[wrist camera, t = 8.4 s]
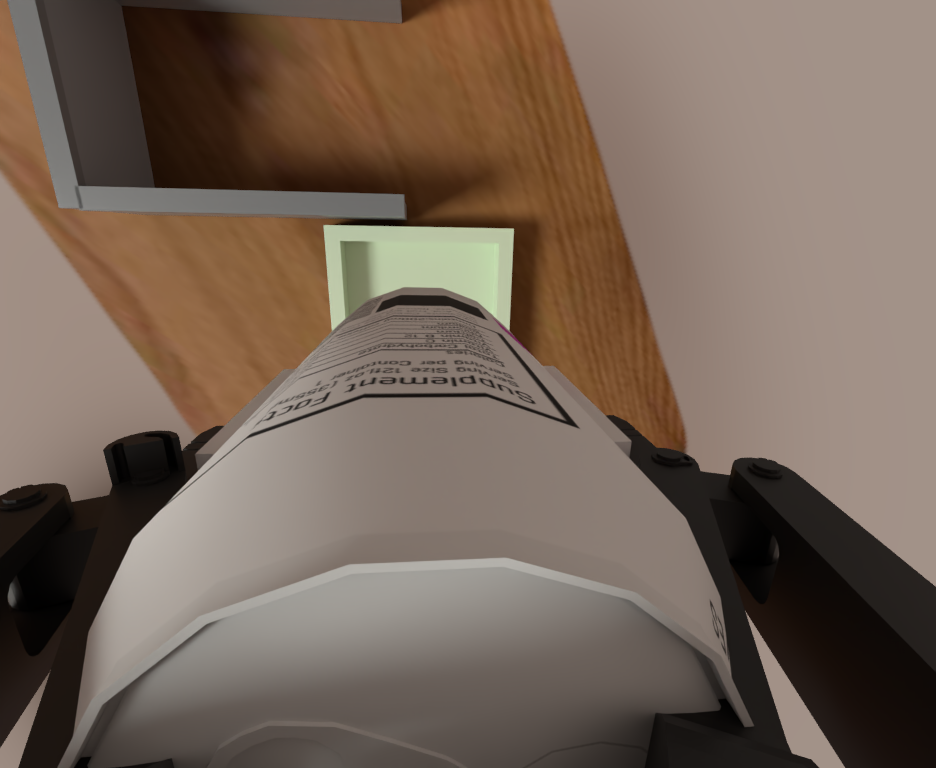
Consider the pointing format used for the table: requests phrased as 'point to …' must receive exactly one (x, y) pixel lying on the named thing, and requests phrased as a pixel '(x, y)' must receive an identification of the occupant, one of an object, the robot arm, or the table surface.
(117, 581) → the supplement can
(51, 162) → the dock
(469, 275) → the tray
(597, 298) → the table surface
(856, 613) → the robot arm
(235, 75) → the table surface
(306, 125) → the table surface
